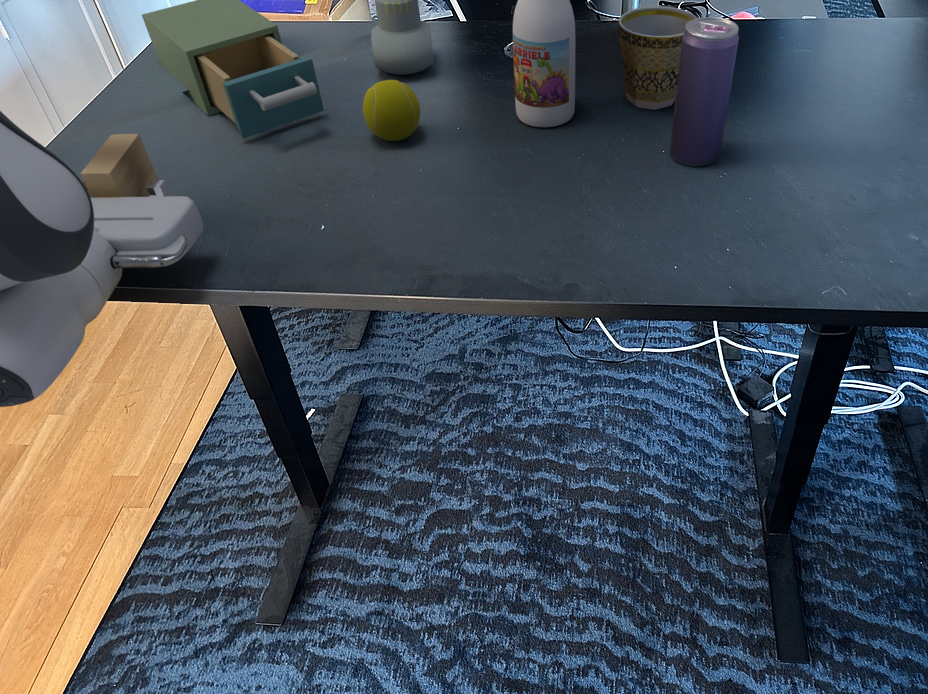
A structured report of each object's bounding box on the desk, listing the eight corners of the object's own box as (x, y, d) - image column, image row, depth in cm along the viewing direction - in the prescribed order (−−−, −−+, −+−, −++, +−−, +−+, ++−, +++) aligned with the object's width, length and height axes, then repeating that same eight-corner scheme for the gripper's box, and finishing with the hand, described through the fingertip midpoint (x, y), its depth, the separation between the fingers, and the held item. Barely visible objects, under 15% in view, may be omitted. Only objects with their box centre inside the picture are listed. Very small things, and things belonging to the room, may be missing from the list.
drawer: (341, 123, 99) (329, 70, 94) (259, 153, 95) (242, 99, 90) (273, 72, 110) (260, 23, 105) (197, 96, 106) (179, 46, 101)
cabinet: (293, 88, 109) (277, 25, 102) (208, 116, 103) (185, 51, 97) (245, 52, 118) (227, -9, 112) (164, 76, 113) (141, 14, 106)
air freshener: (436, 80, 109) (427, 6, 102) (377, 85, 108) (364, 11, 101) (432, 49, 117) (424, -23, 109) (377, 54, 116) (365, -18, 109)
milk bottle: (528, 98, 105) (523, -68, 90) (582, 106, 103) (585, -63, 88) (507, 124, 100) (497, -47, 85) (563, 133, 98) (563, -41, 83)
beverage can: (714, 171, 90) (735, 40, 79) (664, 163, 92) (678, 34, 81) (723, 147, 94) (745, 19, 83) (675, 140, 96) (690, 13, 85)
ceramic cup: (679, 120, 99) (689, 40, 92) (605, 109, 102) (608, 31, 94) (700, 78, 107) (710, 1, 100) (631, 69, 110) (636, -6, 103)
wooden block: (145, 248, 83) (109, 172, 76) (117, 248, 83) (79, 173, 76) (170, 206, 88) (139, 133, 82) (144, 207, 88) (111, 133, 82)
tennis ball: (417, 120, 101) (410, 66, 96) (428, 145, 96) (421, 90, 91) (364, 128, 100) (354, 75, 95) (373, 154, 95) (362, 99, 90)
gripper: (162, 236, 69) (209, 157, 79) (-60, 239, 70) (12, 160, 79) (187, 291, 74) (228, 210, 83) (-22, 294, 74) (42, 213, 84)
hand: (121, 186), depth 81 cm, fingers open, 7 cm apart
